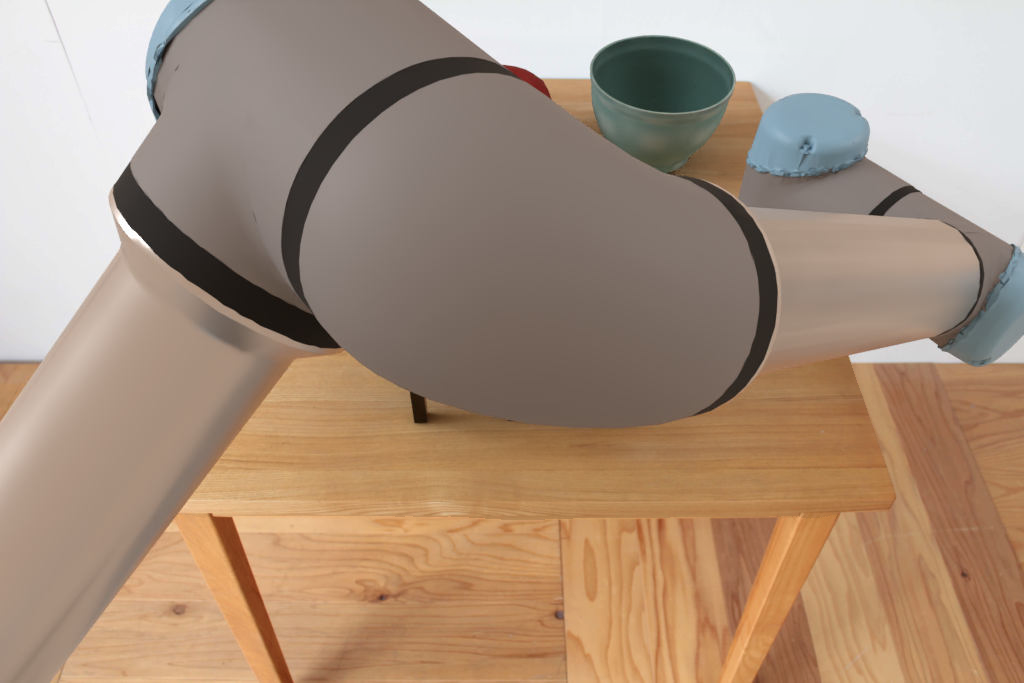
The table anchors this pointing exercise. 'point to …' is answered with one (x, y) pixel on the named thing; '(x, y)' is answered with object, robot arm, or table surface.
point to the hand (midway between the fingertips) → (442, 167)
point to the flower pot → (659, 97)
